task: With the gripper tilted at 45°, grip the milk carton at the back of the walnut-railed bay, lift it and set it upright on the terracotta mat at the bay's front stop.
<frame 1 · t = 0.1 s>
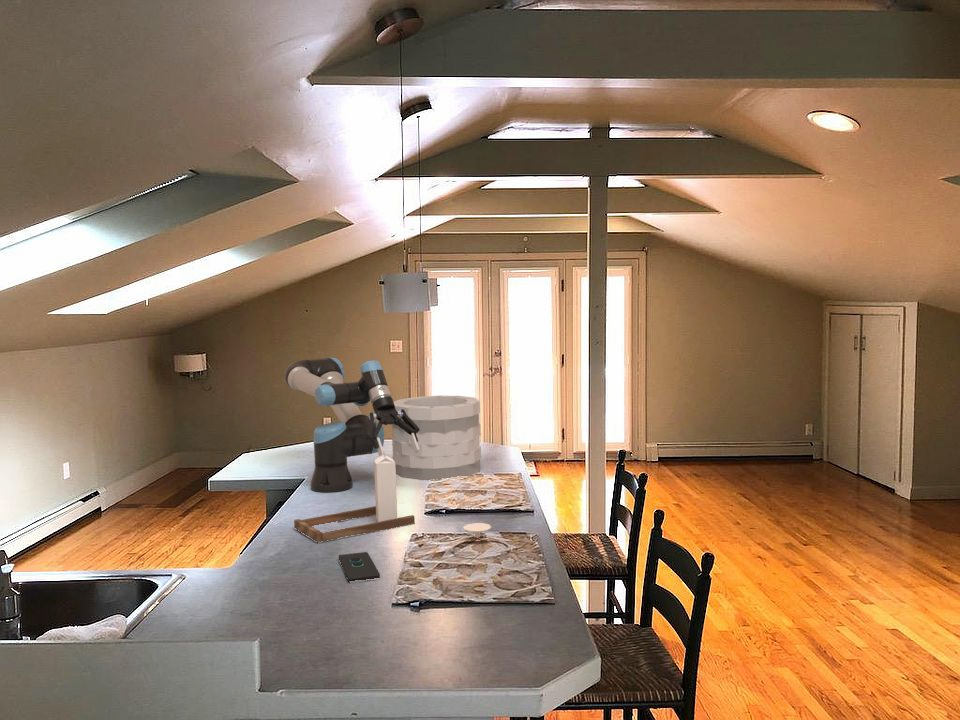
hand: (399, 453, 295), 15 cm above the worktop, tool tilted 35°, fingers open, 13 cm apart
hand towel holder: (480, 549, 239), on the worktop
bay: (354, 526, 263), on the worktop
milk: (386, 520, 269), on the worktop
storage basket: (437, 470, 338), on the worktop
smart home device: (358, 571, 224), on the worktop
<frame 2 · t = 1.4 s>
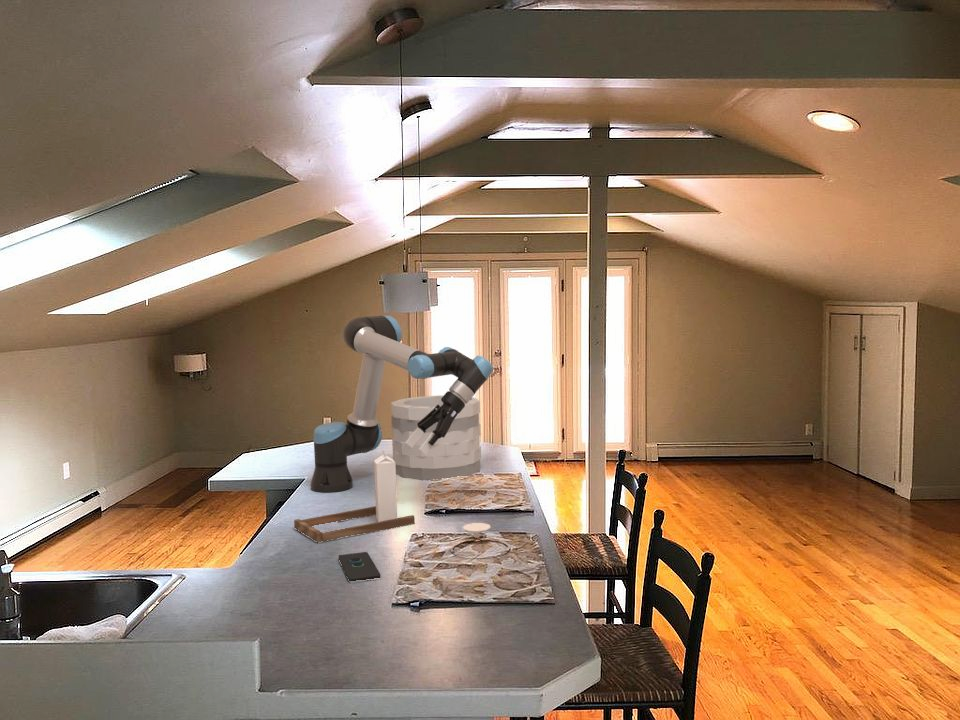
hand: (415, 448, 271), 22 cm above the worktop, tool tilted 45°, fingers open, 13 cm apart
nothing on the worktop moved.
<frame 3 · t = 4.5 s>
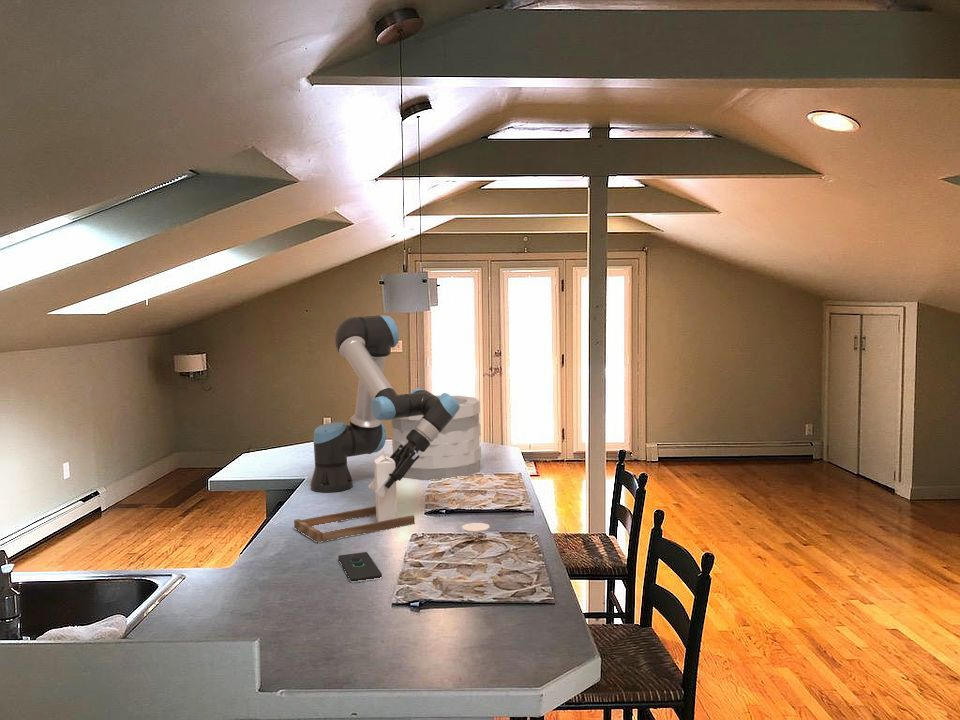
hand: (374, 492, 266), 9 cm above the worktop, tool tilted 45°, fingers closed on milk, 7 cm apart
milk: (386, 520, 269), on the worktop, touching gripper
everything else where it was.
when the fingers open (11 cm above the worktop, at t = 10.3 s): milk drops 1 cm, resting on bay.
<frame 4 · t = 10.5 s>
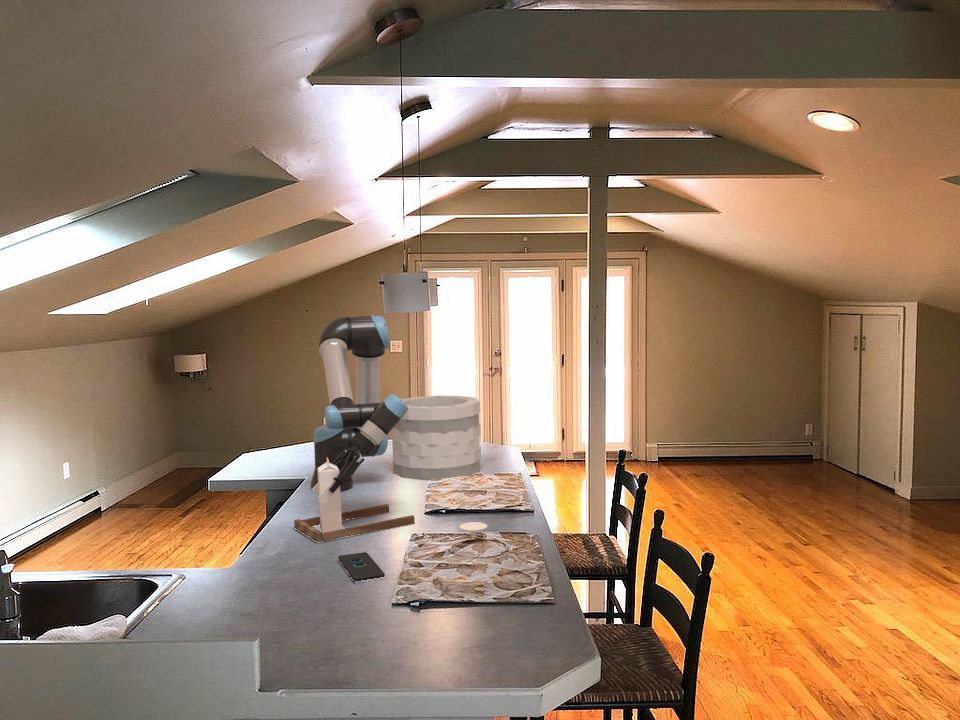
hand: (318, 496, 256), 11 cm above the worktop, tool tilted 45°, fingers open, 9 cm apart
milk: (331, 530, 258), resting on bay
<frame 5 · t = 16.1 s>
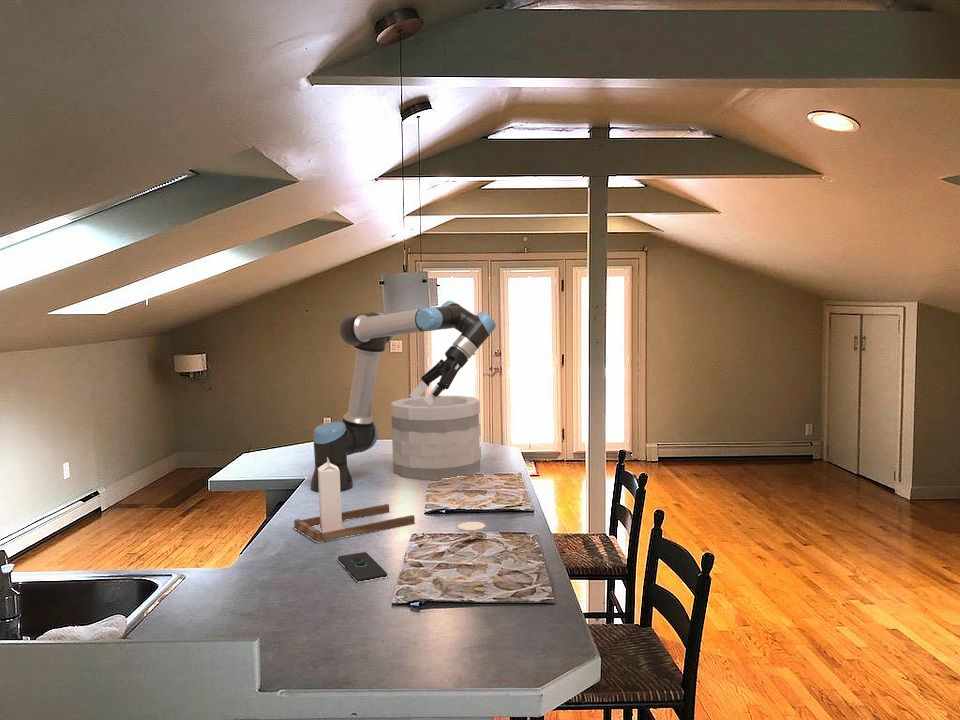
hand: (419, 400, 280), 36 cm above the worktop, tool tilted 45°, fingers open, 13 cm apart
at the end: milk inside the target area (0.2 cm from its centre), resting on bay; milk tilted 0°; the gripper is holding nothing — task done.
